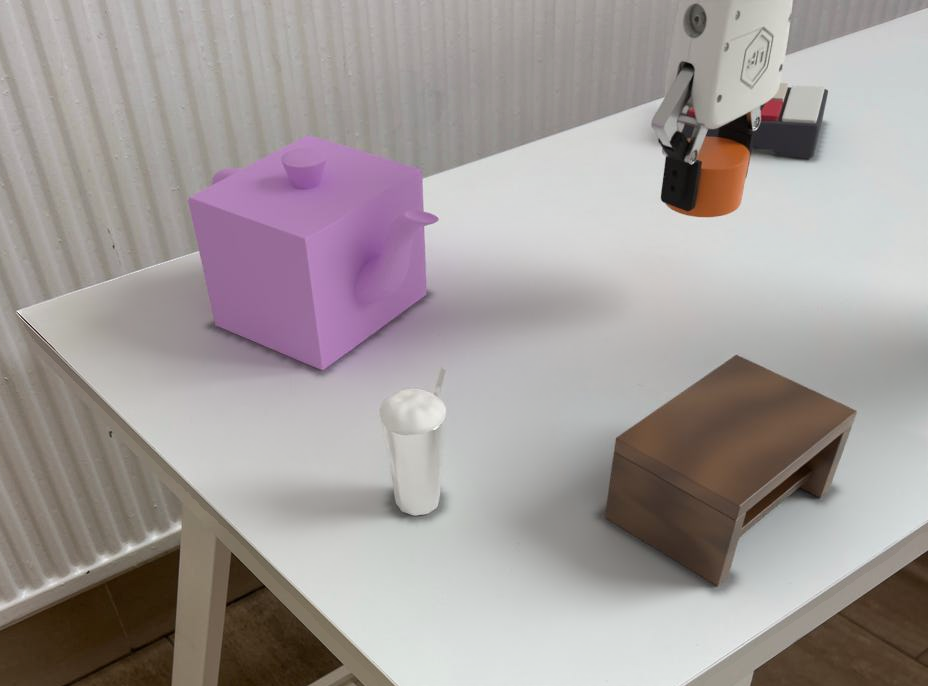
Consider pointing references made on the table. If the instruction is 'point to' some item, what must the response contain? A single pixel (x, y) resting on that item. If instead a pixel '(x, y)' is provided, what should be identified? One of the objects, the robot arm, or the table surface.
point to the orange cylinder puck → (719, 178)
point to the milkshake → (415, 446)
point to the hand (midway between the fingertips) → (703, 189)
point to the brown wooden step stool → (723, 462)
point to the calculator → (786, 121)
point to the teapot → (312, 247)
